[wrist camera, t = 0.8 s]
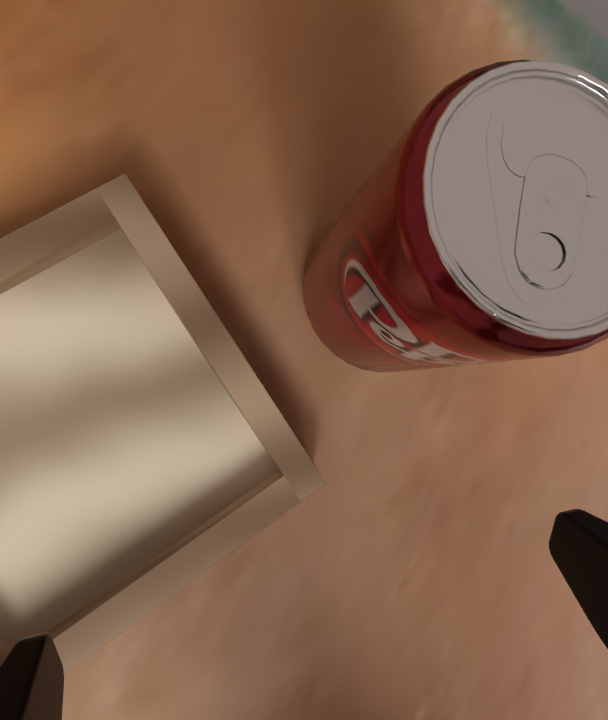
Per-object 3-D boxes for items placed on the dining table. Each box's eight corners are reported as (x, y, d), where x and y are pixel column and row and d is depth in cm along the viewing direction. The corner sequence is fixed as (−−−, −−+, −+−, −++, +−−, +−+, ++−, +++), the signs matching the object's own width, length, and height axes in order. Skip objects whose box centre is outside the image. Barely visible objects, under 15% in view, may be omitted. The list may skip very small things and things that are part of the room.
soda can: (323, 194, 23) (452, -7, 11) (465, 245, 25) (710, 112, 13) (281, 347, 22) (372, 298, 11) (429, 391, 24) (657, 392, 12)
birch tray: (312, 473, 22) (326, 482, 20) (13, 687, 19) (-14, 729, 17) (133, 197, 21) (124, 173, 19) (-207, 379, 19) (-268, 378, 16)
